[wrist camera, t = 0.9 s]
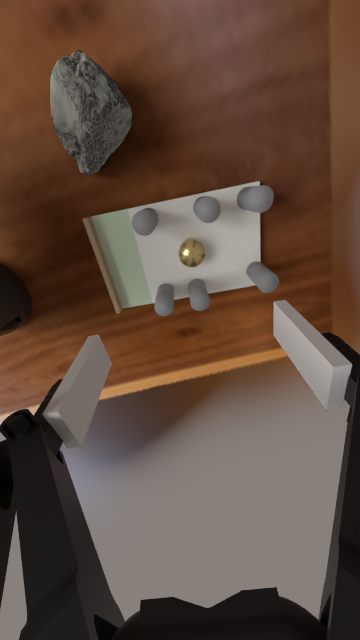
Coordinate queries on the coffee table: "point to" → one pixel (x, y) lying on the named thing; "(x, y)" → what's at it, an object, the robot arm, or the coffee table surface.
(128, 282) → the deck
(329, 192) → the coffee table surface
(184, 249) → the brass dome
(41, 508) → the robot arm
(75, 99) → the stone
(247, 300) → the coffee table surface
